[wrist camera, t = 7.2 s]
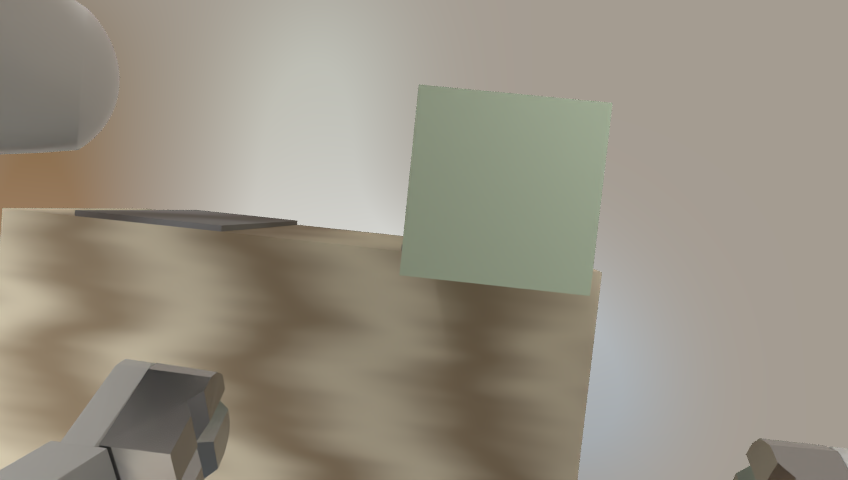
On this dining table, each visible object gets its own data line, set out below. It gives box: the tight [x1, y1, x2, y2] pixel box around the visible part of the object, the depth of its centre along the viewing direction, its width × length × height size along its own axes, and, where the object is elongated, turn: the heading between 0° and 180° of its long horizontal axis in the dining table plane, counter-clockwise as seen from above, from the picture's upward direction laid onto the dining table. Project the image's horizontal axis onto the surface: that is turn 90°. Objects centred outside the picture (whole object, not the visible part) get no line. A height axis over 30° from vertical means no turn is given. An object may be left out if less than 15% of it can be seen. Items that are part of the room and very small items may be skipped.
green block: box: [399, 85, 612, 296], centre depth 24 cm, size 4×24×4 cm, turn 177°
